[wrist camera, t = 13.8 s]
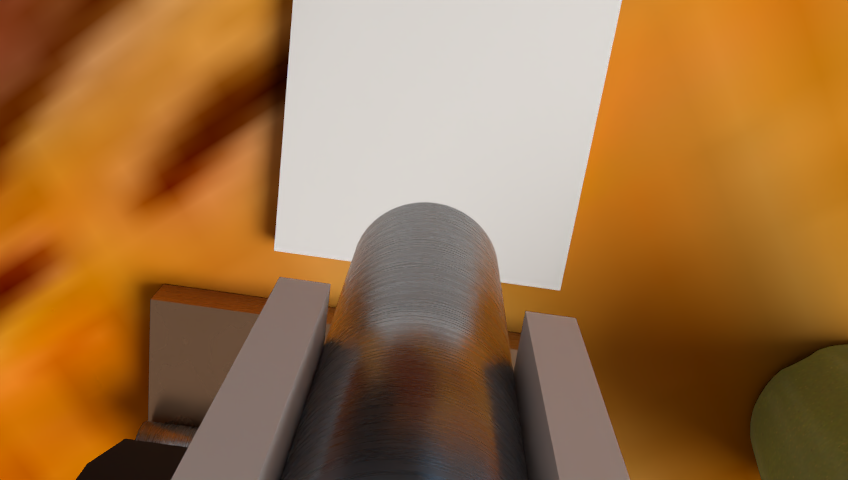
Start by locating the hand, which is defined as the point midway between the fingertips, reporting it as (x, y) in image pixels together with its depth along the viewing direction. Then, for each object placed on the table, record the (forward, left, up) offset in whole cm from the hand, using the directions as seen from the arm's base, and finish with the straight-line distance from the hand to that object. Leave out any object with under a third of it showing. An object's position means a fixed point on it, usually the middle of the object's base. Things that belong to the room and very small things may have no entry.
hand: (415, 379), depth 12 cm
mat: (0, 0, -18) cm, 18 cm away
